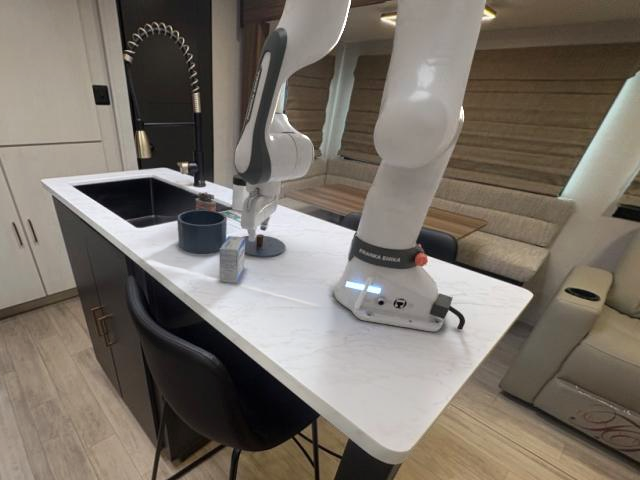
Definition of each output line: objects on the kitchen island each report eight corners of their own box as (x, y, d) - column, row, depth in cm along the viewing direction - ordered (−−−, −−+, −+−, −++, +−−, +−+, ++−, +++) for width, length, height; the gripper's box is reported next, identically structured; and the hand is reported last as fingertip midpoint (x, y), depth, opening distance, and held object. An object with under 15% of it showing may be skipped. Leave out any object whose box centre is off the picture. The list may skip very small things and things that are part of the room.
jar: (252, 212, 118) (255, 179, 112) (231, 211, 118) (233, 178, 111) (251, 205, 126) (253, 174, 119) (231, 204, 125) (232, 173, 119)
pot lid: (291, 244, 93) (293, 232, 91) (275, 263, 82) (277, 250, 79) (245, 235, 98) (246, 223, 96) (225, 252, 86) (225, 239, 84)
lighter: (193, 221, 107) (192, 191, 101) (200, 218, 109) (199, 189, 103) (211, 226, 103) (211, 196, 97) (218, 224, 105) (218, 194, 100)
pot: (233, 242, 92) (234, 214, 88) (212, 260, 82) (212, 229, 77) (194, 234, 96) (194, 207, 92) (169, 249, 86) (167, 219, 81)
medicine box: (237, 284, 71) (239, 250, 67) (218, 282, 72) (219, 247, 67) (243, 269, 78) (245, 237, 73) (226, 267, 79) (227, 235, 74)
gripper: (261, 195, 71) (255, 250, 79) (285, 179, 87) (278, 226, 95) (236, 191, 73) (233, 245, 80) (264, 176, 89) (259, 222, 96)
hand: (258, 234), depth 88 cm, fingers open, 8 cm apart
